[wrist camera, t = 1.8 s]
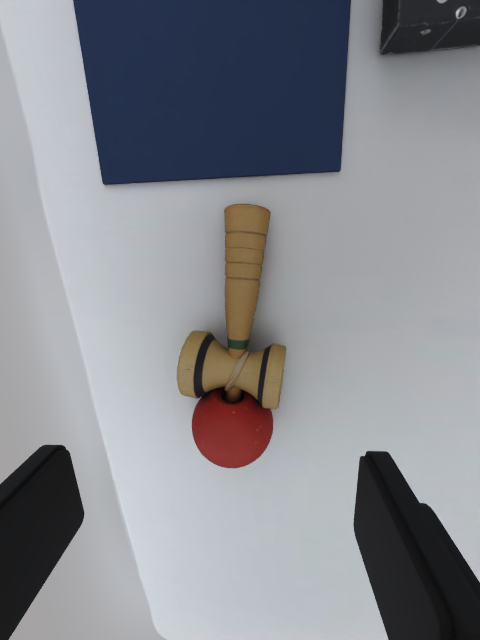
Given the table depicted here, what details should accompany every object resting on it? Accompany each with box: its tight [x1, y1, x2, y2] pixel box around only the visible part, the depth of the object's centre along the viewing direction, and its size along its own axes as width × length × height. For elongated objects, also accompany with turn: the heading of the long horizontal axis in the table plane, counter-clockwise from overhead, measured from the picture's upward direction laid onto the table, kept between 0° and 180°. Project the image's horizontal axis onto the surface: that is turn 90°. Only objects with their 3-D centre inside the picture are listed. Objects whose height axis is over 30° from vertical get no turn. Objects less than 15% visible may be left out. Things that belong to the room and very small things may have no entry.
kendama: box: [177, 204, 286, 468], centre depth 19 cm, size 8×6×18 cm
